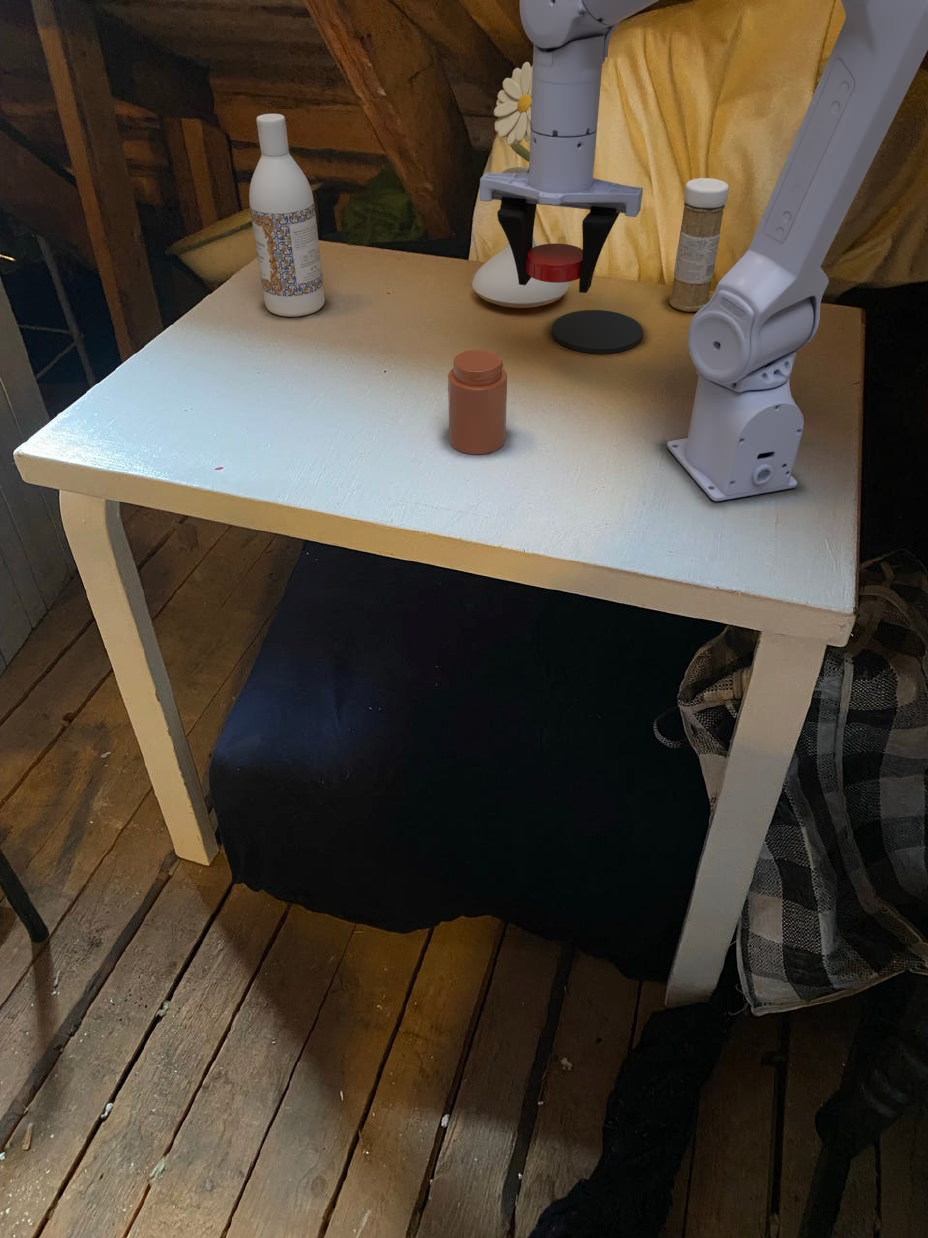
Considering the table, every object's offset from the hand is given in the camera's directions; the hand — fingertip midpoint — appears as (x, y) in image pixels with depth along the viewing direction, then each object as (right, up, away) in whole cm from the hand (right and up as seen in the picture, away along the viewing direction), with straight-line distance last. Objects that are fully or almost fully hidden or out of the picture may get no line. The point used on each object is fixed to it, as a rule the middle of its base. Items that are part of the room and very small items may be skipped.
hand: (554, 284), depth 88 cm
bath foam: (-28, +5, +20) cm, 35 cm away
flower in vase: (-2, +5, +21) cm, 22 cm away
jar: (-7, -15, -3) cm, 17 cm away
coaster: (+6, 0, +14) cm, 15 cm away
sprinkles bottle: (+17, +4, +19) cm, 26 cm away
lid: (0, +2, -2) cm, 3 cm away
